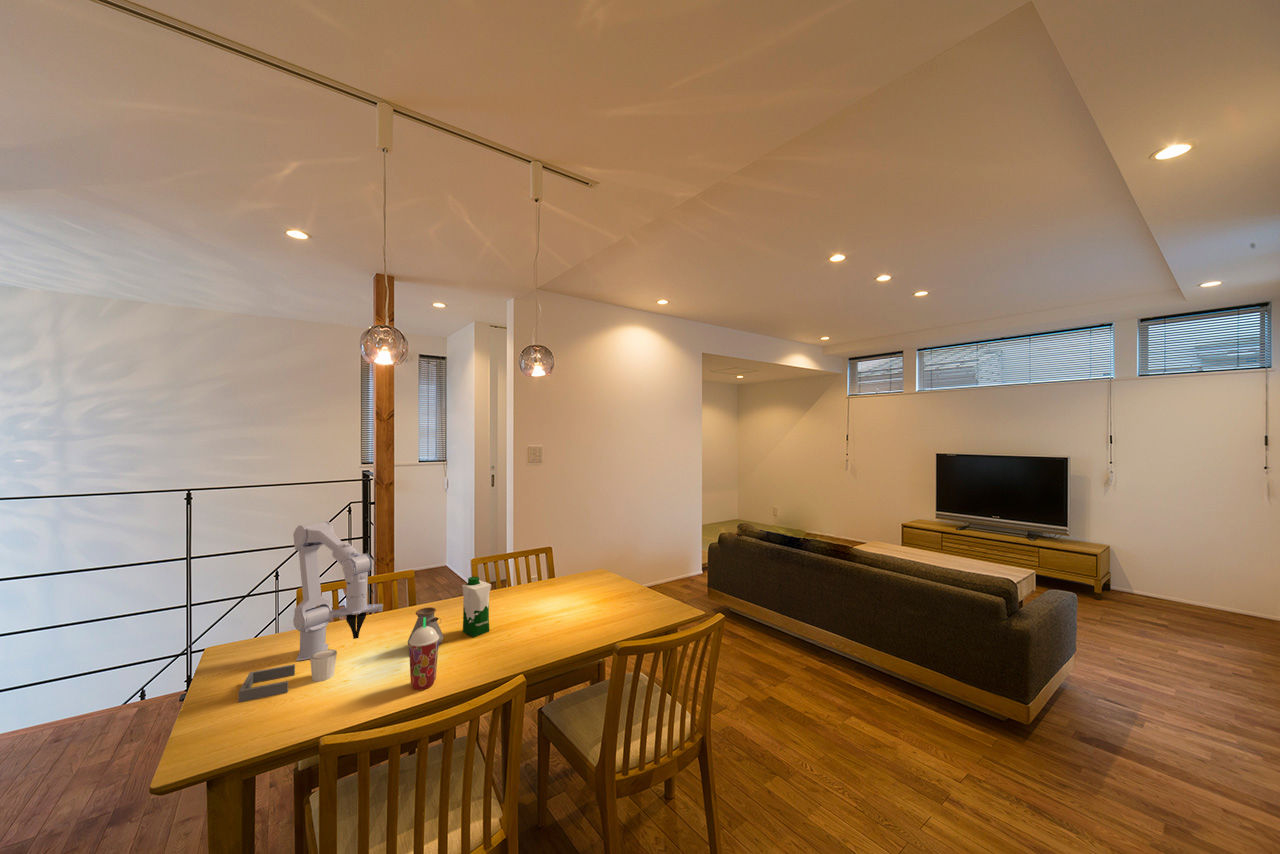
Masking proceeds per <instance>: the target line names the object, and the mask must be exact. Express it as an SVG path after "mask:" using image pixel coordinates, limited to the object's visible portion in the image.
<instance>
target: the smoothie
mask: <svg viewBox="0 0 1280 854" xmlns="http://www.w3.org/2000/svg"><path fill="white" fill-rule="evenodd" d="M438 644H439V635H438V634H437V632H436V630H435V629H434V628H432V627H430V626H426V617H424V618H423V627H420V628H418V629H417V630H416V631H415V632H414V633H413V634H412V636H411V639H410V640H409V645H408V649H409V651H408V652H409V653H408V654H409V655H408V656H409V674H410V677H409V678H410V685H411V686H412V688H413V689H414V690H416V691H417V690H418V691H423V690H427V689H429V688H431V687H432V686H433V685H434V683H435V681H436V677H437V667H438V656H439V645H440V644H439V645H438Z"/></svg>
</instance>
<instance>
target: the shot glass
mask: <svg viewBox="0 0 1280 854" xmlns="http://www.w3.org/2000/svg"><path fill="white" fill-rule="evenodd" d="M337 654H338V651H337V649H331V648H330V649H327V650H322V651H319V652H316V653H314V654H312V655H311V656H310V659H309V661H310V669H311V671H310V672H311V680H312V682H323V681H327V680H329V679H332V678H333V677H334V676H335V671H336V661H337Z"/></svg>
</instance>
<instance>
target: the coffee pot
mask: <svg viewBox="0 0 1280 854" xmlns="http://www.w3.org/2000/svg"><path fill="white" fill-rule="evenodd" d="M435 612H437V609H436V608H435V607H433V606H432V607H431V606H430V607H429V606H428V607H423V608H419V609H418V610H416V611H415V615H416V616H417V619H416V622H415V624H414V626H413V628H412V630H411V633H410V635H409V637H408V639H407V645H408V646H409V640H410V639H411V636H412V634H413V633H414V632H415V631H416V630H417V629H418V628H420V627H423V618H424V617H426V626H430V627H432V628H434V629H435V630H436V632H437V634H438V635H439V644H438V646H439V645H441V643H442V642H443V640H444V634H443V632H442V630H441V627H440V625H439V624H441V623H442V619H441V618H439V617H437V616H435ZM438 620H440V622H439V623H438Z"/></svg>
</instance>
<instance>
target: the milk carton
mask: <svg viewBox="0 0 1280 854" xmlns="http://www.w3.org/2000/svg"><path fill="white" fill-rule="evenodd" d="M491 589H492V584H491V583H489V582H486V581H483V580H481V579H480V577H479V576H470V577H468V578H467V583H465V584H462V594H463V604H462V605H463V607H462V608H463V610H462V611H463V612H462V613H463V614H462V615H463V616H462V633H463V634H465V635H467V636H469V637H471V638H477V637H478V636H482V635H484V634H486V633H489V632H490V631H491V630H490V618H489V617H490V614H489V613H490V592H491Z"/></svg>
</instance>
